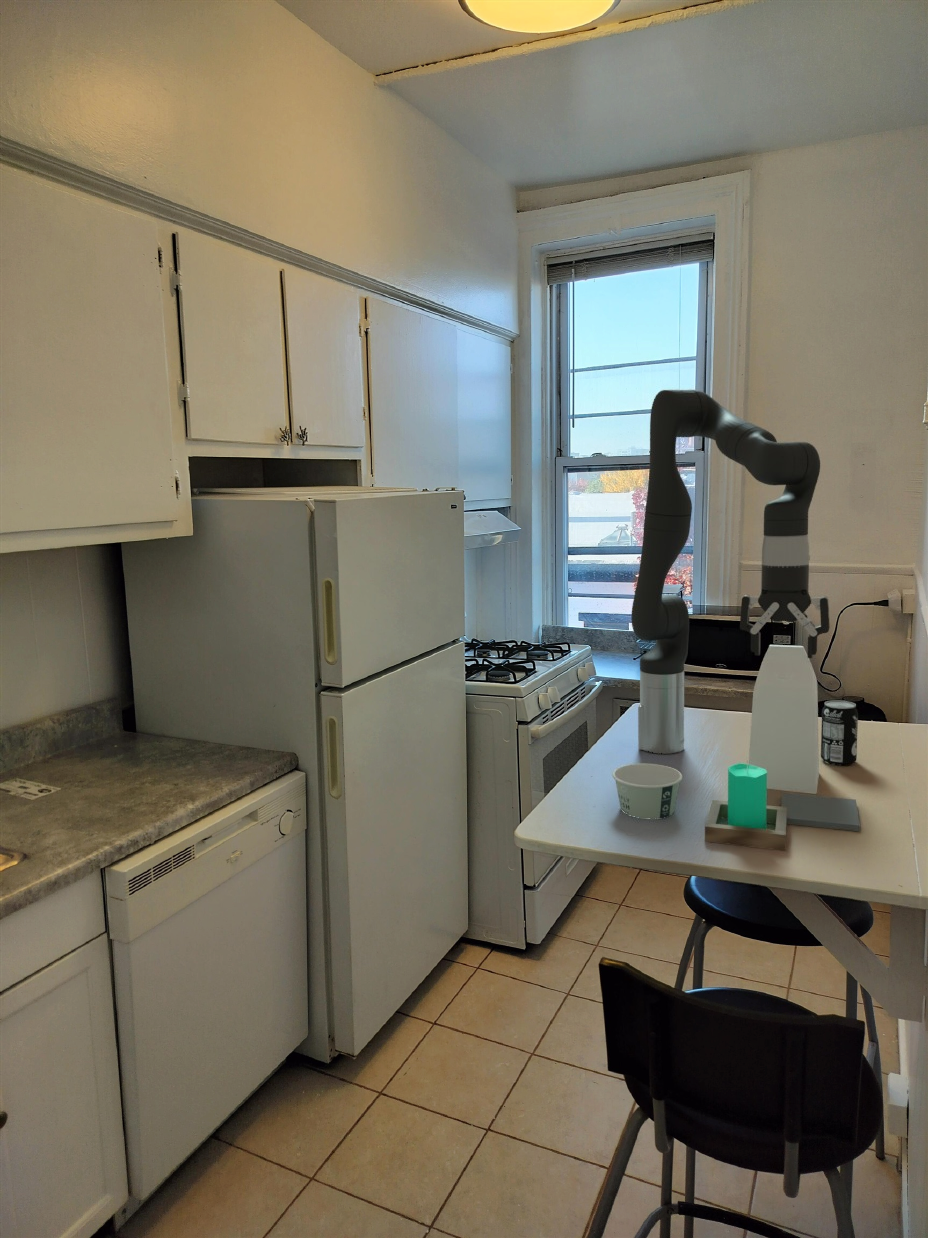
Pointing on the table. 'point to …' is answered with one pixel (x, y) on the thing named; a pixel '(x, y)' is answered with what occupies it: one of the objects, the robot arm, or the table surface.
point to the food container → (647, 789)
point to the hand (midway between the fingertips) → (783, 656)
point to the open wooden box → (746, 828)
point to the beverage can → (839, 733)
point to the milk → (786, 720)
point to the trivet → (821, 811)
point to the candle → (747, 796)
